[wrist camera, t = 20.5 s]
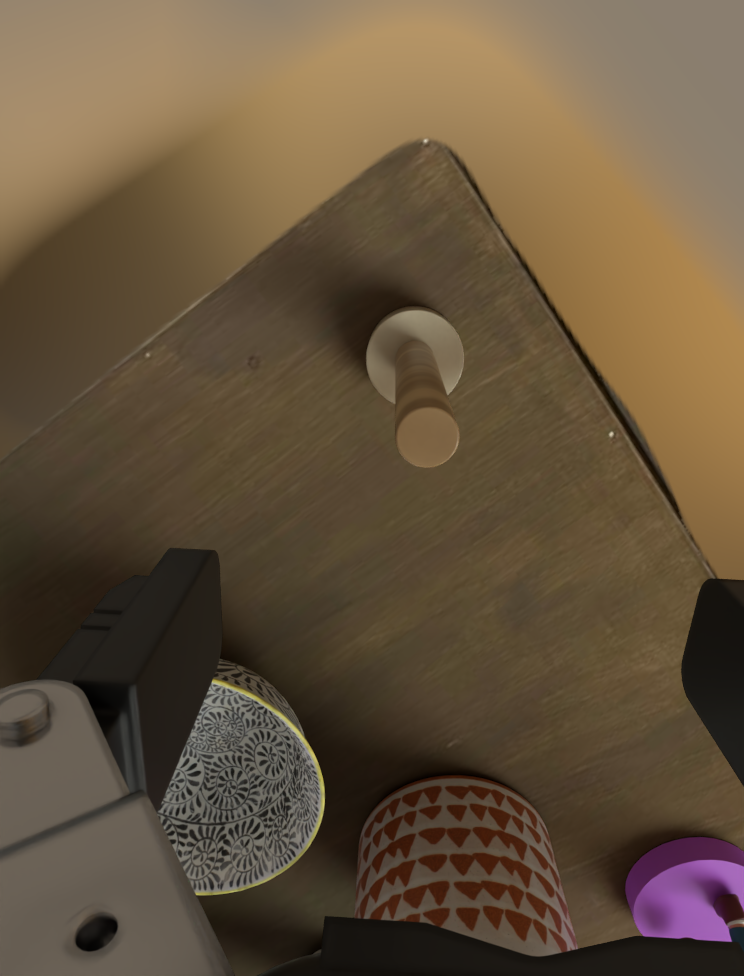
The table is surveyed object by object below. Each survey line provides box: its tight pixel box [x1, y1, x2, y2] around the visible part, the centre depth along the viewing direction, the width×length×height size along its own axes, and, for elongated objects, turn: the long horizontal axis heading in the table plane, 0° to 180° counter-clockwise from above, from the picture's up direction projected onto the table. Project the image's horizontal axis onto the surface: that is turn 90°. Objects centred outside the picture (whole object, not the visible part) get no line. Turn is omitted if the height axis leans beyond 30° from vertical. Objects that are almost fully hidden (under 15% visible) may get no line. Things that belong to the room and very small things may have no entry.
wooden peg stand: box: [366, 306, 464, 468], centre depth 28 cm, size 5×5×16 cm
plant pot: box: [354, 775, 578, 956], centre depth 42 cm, size 14×14×13 cm
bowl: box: [157, 659, 325, 895], centre depth 41 cm, size 16×16×8 cm
